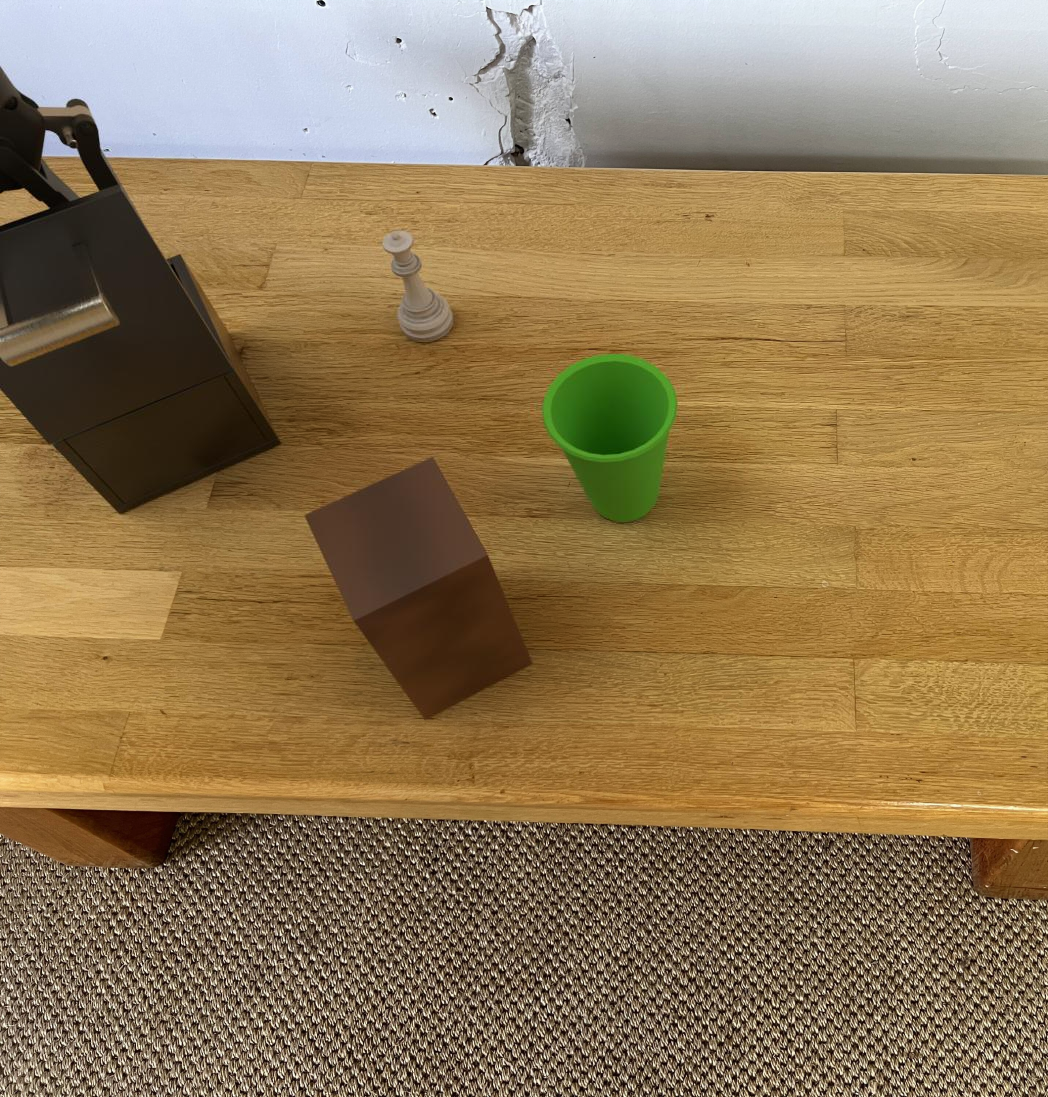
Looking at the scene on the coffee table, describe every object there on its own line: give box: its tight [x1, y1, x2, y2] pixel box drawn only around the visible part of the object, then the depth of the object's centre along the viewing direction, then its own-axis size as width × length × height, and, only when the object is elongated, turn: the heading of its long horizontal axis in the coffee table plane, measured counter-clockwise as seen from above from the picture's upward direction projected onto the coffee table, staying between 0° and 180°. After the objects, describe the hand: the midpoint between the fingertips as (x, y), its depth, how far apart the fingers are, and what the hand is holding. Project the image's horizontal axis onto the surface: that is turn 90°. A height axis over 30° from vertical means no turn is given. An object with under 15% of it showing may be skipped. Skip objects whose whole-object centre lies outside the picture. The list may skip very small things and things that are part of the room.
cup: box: [541, 353, 679, 523], centre depth 73 cm, size 9×9×11 cm
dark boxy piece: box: [51, 253, 282, 515], centre depth 78 cm, size 14×13×9 cm
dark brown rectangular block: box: [304, 456, 533, 721], centre depth 65 cm, size 8×8×15 cm
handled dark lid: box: [0, 184, 233, 445], centre depth 63 cm, size 14×13×9 cm
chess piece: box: [381, 230, 454, 343], centre depth 82 cm, size 4×4×10 cm
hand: (121, 340), depth 75 cm, fingers closed on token, 4 cm apart
